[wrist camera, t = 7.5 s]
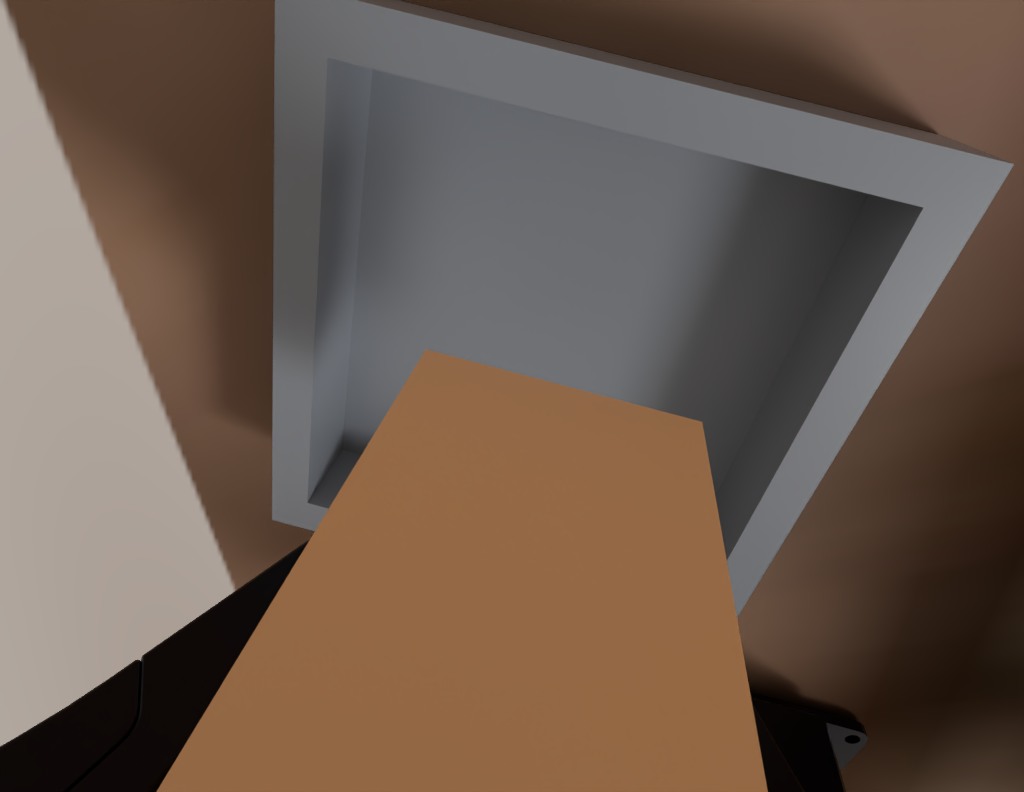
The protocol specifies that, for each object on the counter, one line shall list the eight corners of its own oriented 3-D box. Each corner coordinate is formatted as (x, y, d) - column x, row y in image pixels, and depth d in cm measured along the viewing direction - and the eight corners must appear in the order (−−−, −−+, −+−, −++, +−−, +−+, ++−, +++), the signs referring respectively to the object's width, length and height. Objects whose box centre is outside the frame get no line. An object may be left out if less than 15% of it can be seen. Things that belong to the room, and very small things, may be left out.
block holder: (710, 562, 20) (722, 641, 18) (315, 457, 21) (272, 519, 18) (940, 135, 13) (1013, 164, 11) (340, -14, 14) (274, -21, 11)
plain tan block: (618, 607, 12) (604, 1323, 6) (395, 547, 13) (119, 1176, 6) (701, 421, 10) (852, 1272, 3) (425, 349, 10) (14, 1024, 3)
